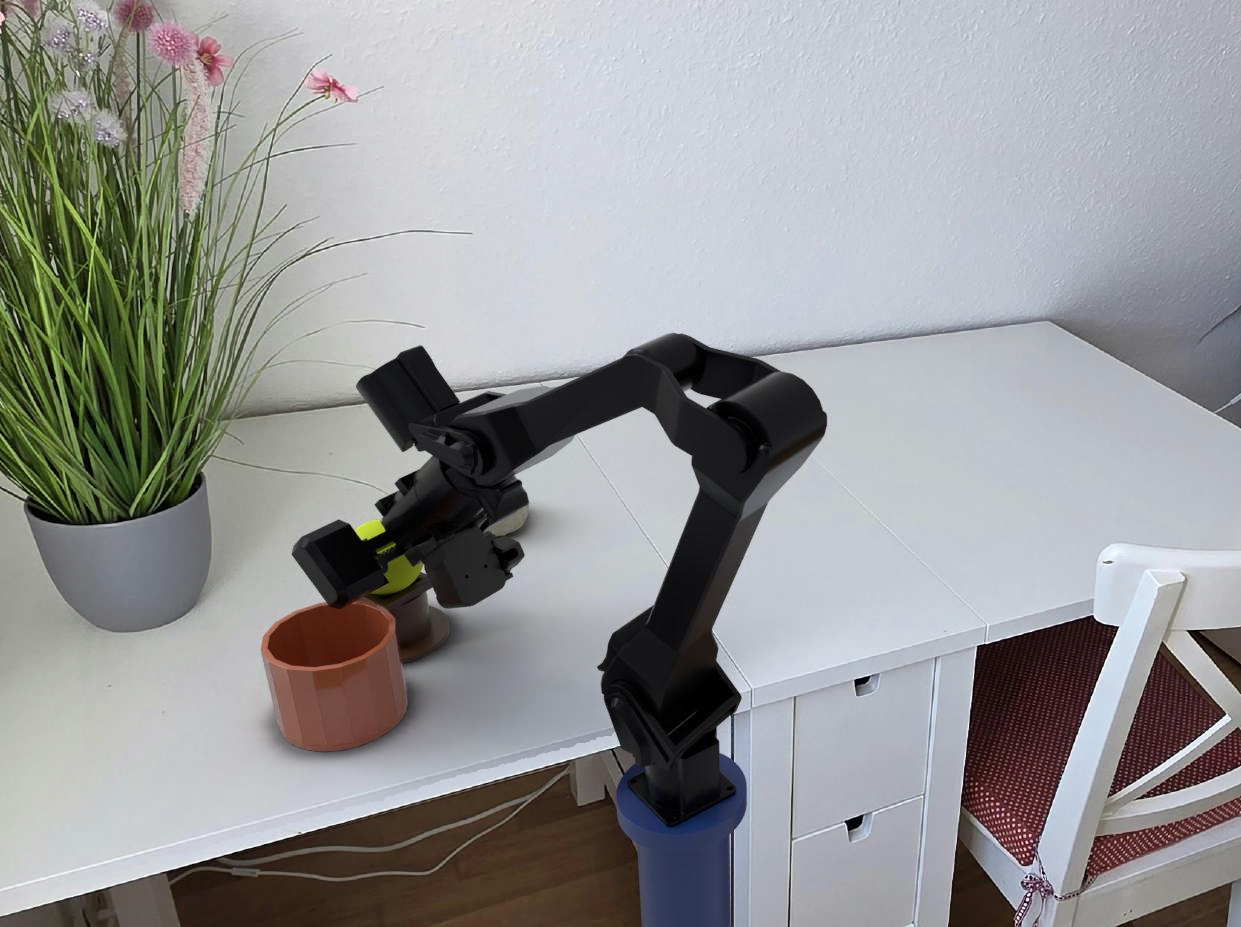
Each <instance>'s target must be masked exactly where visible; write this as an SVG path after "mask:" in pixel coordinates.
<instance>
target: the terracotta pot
mask: <svg viewBox="0 0 1241 927" xmlns="http://www.w3.org/2000/svg"><path fill="white" fill-rule="evenodd" d="M260 654H261V658H262V659H261V660H262V663H263V668H264V671H265V676H266V680H267V684H268V688H269V693H270V698H271V702H272V706H273V710H274V715H275V720H276V724H277V726H278V727H279V730H280V733H281V735H282V737H283V738H284V739H285V741H287V742H288V743H289V744H291V745H293V746H295V747H296V748H299V749H303V750H307V751H311V752H338V751H344V750H345V751H346V750H350V749H354V748H357V747H360V746H363V745H366V744H369V743H371V742H373V741H375V740H377V739H380V738H381V737H383V736H385V735H386V734H388V733H389V732H390V731H392V730H393V729H394V728H396V727H397V725H398V724H399V723H400V722H401V721H402V719H403V718H404V717H405V715H406V713H407V710H408V707H409V699H408V687H407V681H406V676H405V670H404V669H405V668H404V663H402V657H401V651H400V645H399V639H398V633H397V626H396V620H395V618H394V617H393V616H392V615H391V613H390V612H389V611H388V610H387V609H386V608H384V607H382V606H379V605H376V604H373V603H371V602H368V601H355V602H353V603H351V604H349V605H348V606H346V607H344V608H342V609H336V608H332V607H329V605H328V604H327V602H326V601H324V602H318V603H315V604H312V605H309V606H306V607H303V608H299V609H296V610H294V611H293V612H291V613H289V614H287V615H285V616H284V617H282V618H280V619H279V620H277V621H275V622H274V623H273V624H272V625H271V627H270V628H268V630H267V631H266V632H265V633H264V634H263V635H262V639H261V645H260Z"/></svg>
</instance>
